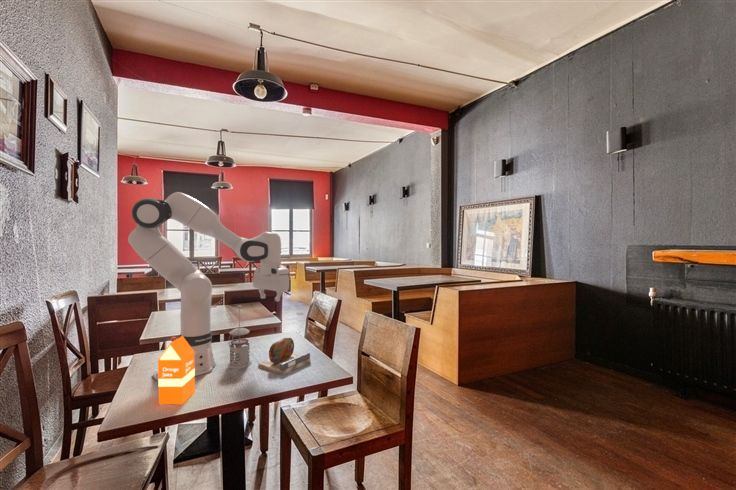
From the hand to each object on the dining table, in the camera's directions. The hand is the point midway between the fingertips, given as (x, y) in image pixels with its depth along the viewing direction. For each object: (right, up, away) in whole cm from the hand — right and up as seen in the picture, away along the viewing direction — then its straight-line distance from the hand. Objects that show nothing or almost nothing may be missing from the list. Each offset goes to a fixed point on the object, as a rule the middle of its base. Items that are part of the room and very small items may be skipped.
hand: (270, 299), depth 157 cm
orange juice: (-20, -27, -39) cm, 51 cm away
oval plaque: (+7, -25, -7) cm, 26 cm away
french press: (-11, -26, -8) cm, 29 cm away
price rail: (+14, -25, -12) cm, 31 cm away
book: (+9, -26, -9) cm, 29 cm away
